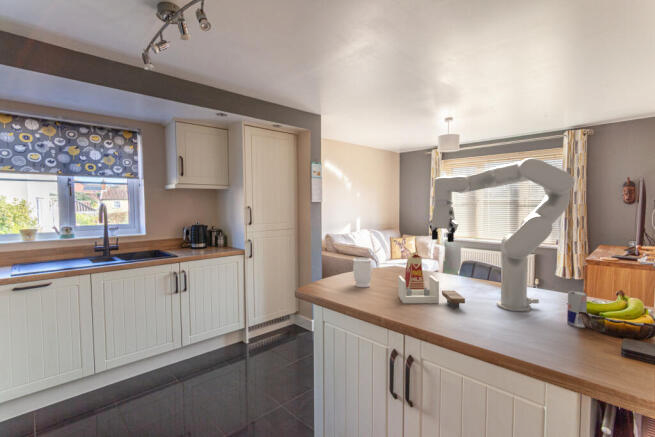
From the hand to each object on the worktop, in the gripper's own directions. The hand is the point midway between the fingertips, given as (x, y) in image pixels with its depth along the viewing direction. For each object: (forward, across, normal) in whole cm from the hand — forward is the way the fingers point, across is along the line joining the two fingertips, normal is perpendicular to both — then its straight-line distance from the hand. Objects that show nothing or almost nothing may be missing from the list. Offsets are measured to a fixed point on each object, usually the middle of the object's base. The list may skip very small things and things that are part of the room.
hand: (442, 240), depth 144 cm
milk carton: (+28, +20, -1) cm, 35 cm away
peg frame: (+28, +5, +10) cm, 30 cm away
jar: (+28, +38, +20) cm, 51 cm away
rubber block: (+28, -9, +3) cm, 29 cm away
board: (+25, -9, +3) cm, 26 cm away
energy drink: (+27, -45, -20) cm, 57 cm away
